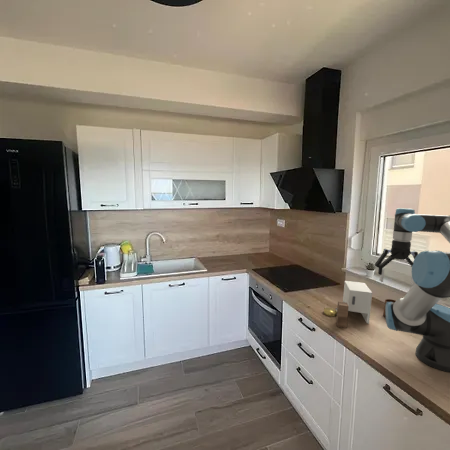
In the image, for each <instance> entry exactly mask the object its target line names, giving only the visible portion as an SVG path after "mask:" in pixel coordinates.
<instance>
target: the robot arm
mask: <svg viewBox="0 0 450 450" xmlns="http://www.w3.org/2000/svg"><path fill="white" fill-rule="evenodd" d="M392 231H393V232H392V241H391V249H387V248H384V249H383V251H382V253H381V255H380V256H379V258H378V259H377V260H376V262H375V263H374V266H375V267H376V268H378V269H377V270H378V272H377V274H378V275H379V281H380V282H381V283H384V276H385V268H384V267H386V266H387V265H388V264H390V263H391V262H392V261H394V260H402V261H406V262H407V264H408V265H409V266H410V267H411V276H410V284H411V285H412V286H411V287H410V288H409V290H408V291H407V292H406V294H405V295H404V296H403V298H402V297H401V298H398V299H397V300H396V301H395V303H393V302H387V303H386V307H385V314H386V317H385V322H386V323H385V324H386V326H387V328H388V329H390V330H392V331H396V332H403V333H409V334H413V335H414V334H415V335H420V336H422V338H421V339H420V341H419V343H418V345H417V346H416V347H415V348H416V349H415V356H416V357H417V359H419V360H420V361H421V362H423V363H424V364H425V365H428V366H430V367H431V368H434V369H436V370H439V371H443V372H447V373H450V307H447V306H445V305H441V304H437V303H439V302H440V301H441V299H447V298H448V299H449V298H450V251H449V252H447V251H441V250H424V251H421V252H418V251H416V250H413V251H412V250H411V247H412V242H411V241H412V240H413V239H412V238H413V233H416V232H423V233H425V232H426V233H437V234H441V236H443V238H444V239H445V240H446V241H447V242H448V243H449V244H450V215H446V214H445V215H443V214H442V215H441V214H440V215H439V214H421V213H416V212H415V209H413V208H408V207H407V208H403V207H397V208H396V209H395V213H394V221H393V230H392ZM389 253H390V255H389ZM387 255H388V257H387ZM410 256H412V257H413V261H412V260H411V258H410ZM386 257H387V258H386ZM385 258H386V259H385ZM384 259H385V260H384Z"/></svg>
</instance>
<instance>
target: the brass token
mask: <svg viewBox="0 0 450 450" xmlns="http://www.w3.org/2000/svg"><path fill="white" fill-rule="evenodd" d="M323 314H324V315H325V316H328V317H330V318H332V317H334V318H335V317H337V310H336V308H333V307H324V308H323Z"/></svg>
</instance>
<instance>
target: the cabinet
mask: <svg viewBox="0 0 450 450" xmlns="http://www.w3.org/2000/svg"><path fill="white" fill-rule="evenodd" d="M372 298H373V291H372V290H371V289H370V288H369V286H367V283H365V282H359V281H349V280H344V287H343V296H342V302H346V303H347V304H348V306H349V308H348V312H354V313H360V314H361V316H362V318H363V320H364V321H365V324H368V325H369V324H370V318H371V310H372V309H371V307H372V300H373V299H372Z"/></svg>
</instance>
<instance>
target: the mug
mask: <svg viewBox="0 0 450 450" xmlns="http://www.w3.org/2000/svg"><path fill="white" fill-rule="evenodd" d="M395 301H397V300H395V299H392V298H386V299H384V304H383V312H382V314H383V317H384V318H386V314H385V307H386V303H387V302H393V303H395Z"/></svg>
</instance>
